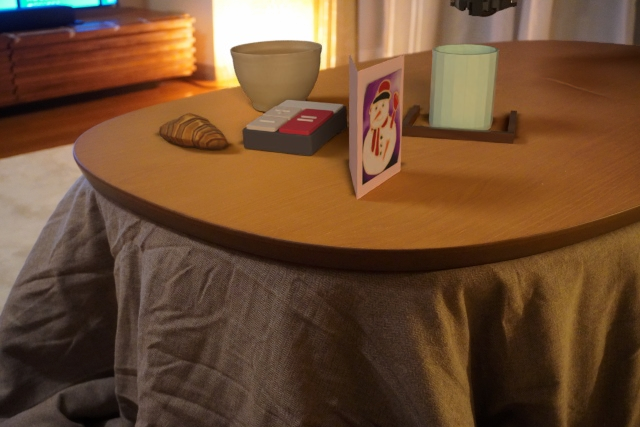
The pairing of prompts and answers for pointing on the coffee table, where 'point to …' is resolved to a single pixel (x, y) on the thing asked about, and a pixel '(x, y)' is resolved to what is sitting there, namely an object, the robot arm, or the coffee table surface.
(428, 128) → the bay
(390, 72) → the greeting card
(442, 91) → the cup
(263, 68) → the planter bowl
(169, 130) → the croissant
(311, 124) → the calculator
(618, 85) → the coffee table surface
